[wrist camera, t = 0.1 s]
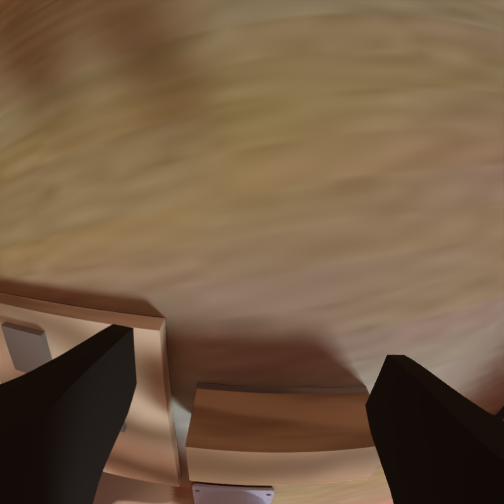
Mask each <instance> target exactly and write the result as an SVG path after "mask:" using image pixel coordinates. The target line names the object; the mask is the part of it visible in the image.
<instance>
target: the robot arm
mask: <svg viewBox="0 0 504 504" xmlns="http://www.w3.org/2000/svg"><path fill="white" fill-rule="evenodd" d="M136 385H137V378H136V365H135V349H134V329H133V328H131V327H126V326H121V325H116V324H112V325H110V326H108V327H106V328H105V329H103V330H101V331H100V332H98V333H96V334H95V335H93V336H92V337H90V338H88V339H87V340H85V341H83V342H82V343H80V344H78V345H77V346H75V347H73V348H72V349H70V350H68V351H67V352H65V353H63V354H62V355H60V356H58V357H56V358H54V359H53V360H51V361H49V362H47V363H45V364H43V365H41V366H39V367H38V368H36V369H34V370H32V371H30V372H28V373H26V374H24V375H22V376H19V377H17V378H15V379H12V380H10V381H7V382H5V383H2V384H0V504H93V501H94V497H95V493H96V490H97V486H98V483H99V480H100V477H101V474H102V472H103V469H104V467H105V465H106V462H107V460H108V458H109V455H110V453H111V451H112V449H113V446H114V444H115V442H116V440H117V437H118V435H119V433H120V431H121V428H122V426H123V424H124V421H125V419H126V417H127V415H128V412H129V409H130V406H131V402H132V399H133V396H134V392H135V389H136ZM365 407H366V412H367V418H368V423H369V428H370V432H371V436H372V439H373V442H374V444H375V447H376V450H377V453H378V456H379V459H380V462H381V465H382V467H383V470H384V473H385V476H386V479H387V482H388V485H389V488H390V491H391V495H392V499H393V503H394V504H504V421H503V420H501V419H499V418H497V417H495V416H493V415H492V414H490V413H488V412H487V411H485V410H484V409H482V408H480V407H479V406H477V405H476V404H474V403H473V402H471V401H470V400H468V399H467V398H465V397H464V396H462V395H461V394H460V393H458V392H457V391H455V390H454V389H453V388H451V387H450V386H449V385H447V384H446V383H444V382H443V381H442V380H440V379H439V378H438V377H436V376H435V375H434V374H432V373H431V372H429V371H428V370H427V369H425V368H424V367H422V366H421V365H420V364H418V363H417V362H415V361H414V360H412V359H410V358H409V357H407V356H405V355H387V356H386V359H385V361H384V364H383V366H382V369H381V371H380V373H379V376H378V378H377V380H376V382H375V385H374V387H373V389H372V391H371V394H370V396H369V398H368V400H367V402H366V404H365ZM192 490H193V498H194V504H271V502H272V499H273V496H274V489H273V488H260V487H233V486H219V485H207V484H198V483H195V484H193V485H192Z"/></svg>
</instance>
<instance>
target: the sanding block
mask: <svg viewBox="0 0 504 504" xmlns="http://www.w3.org/2000/svg"><path fill="white" fill-rule="evenodd" d="M369 396H370V395H369V392H368V390H367V388H366V386H359V387H332V388H279V387H252V386H235V385H221V384H209V383H199V382H198V385H197V390H196V395H195V400H194V405H193V410H192V415H191V420H190V425H189V430H188V435H187V441H186V446H185V448H186V457H187V465H188V473H189V480H190V481H199V482H208V483H220V484H235V485H265V486H278V485H309V484H323V483H335V482H344V481H353V480H360V479H367V478H370V477H371V476H372V474H373V472H374V471H375V469H376V468H377V466H378V464H379V463H380V459H379V456H378V453H377V450H376V447H375V444H374V442H373V439H372V436H371V432H370V428H369V423H368V418H367V412H366V407H365V404H366V402H367V400H368V398H369Z"/></svg>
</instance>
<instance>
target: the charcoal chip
mask: <svg viewBox="0 0 504 504" xmlns="http://www.w3.org/2000/svg"><path fill="white" fill-rule="evenodd" d="M1 328H2V331H3V334H4V338H5V341H6V344H7V347H8V350H9V353H10V356H11V359H12V362H13V365H14V367H15V370H18V371H21V372H24V373H28V372H30V371H32V370H34V369H36V368H38V367H39V366H41V365H43V364H45V363H47V362H49V361H51V360H52V356H51V353H50V349H49V346H48V342H47V338H46V334H45V331H41V330H36V329H32V328H28V327H24V326H20V325H16V324H12V323H9V322H4V323H3V324H2V325H1Z"/></svg>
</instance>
